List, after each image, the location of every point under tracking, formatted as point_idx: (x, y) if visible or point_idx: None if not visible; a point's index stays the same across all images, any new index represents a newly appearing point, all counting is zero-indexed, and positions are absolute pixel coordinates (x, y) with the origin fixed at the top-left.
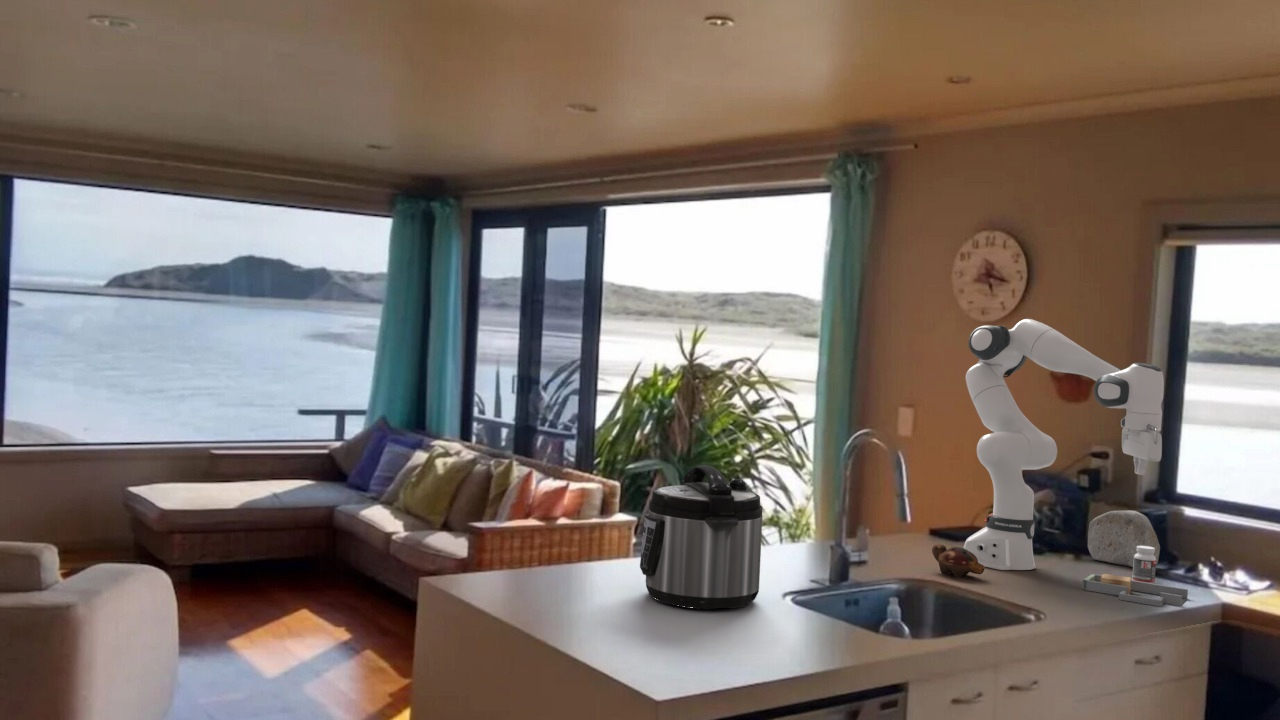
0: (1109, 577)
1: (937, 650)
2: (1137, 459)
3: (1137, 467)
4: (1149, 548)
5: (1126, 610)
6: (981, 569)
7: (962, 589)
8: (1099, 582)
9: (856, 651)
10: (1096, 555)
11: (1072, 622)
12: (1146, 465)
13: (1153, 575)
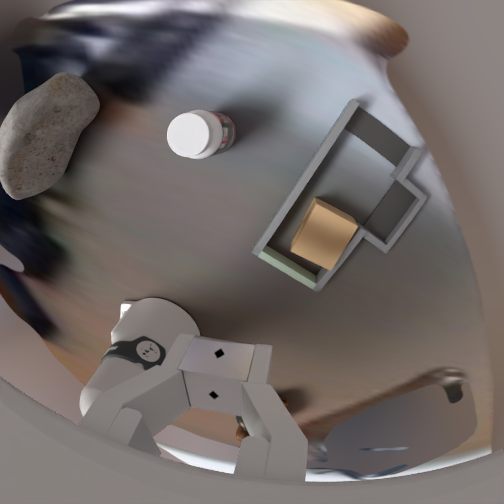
0: (326, 253)
1: (492, 424)
2: (153, 452)
3: (199, 403)
4: (202, 130)
5: (446, 267)
6: (288, 404)
7: (340, 414)
8: (332, 269)
9: (477, 447)
10: (61, 173)
11: (477, 349)
12: (289, 416)
13: (226, 119)
